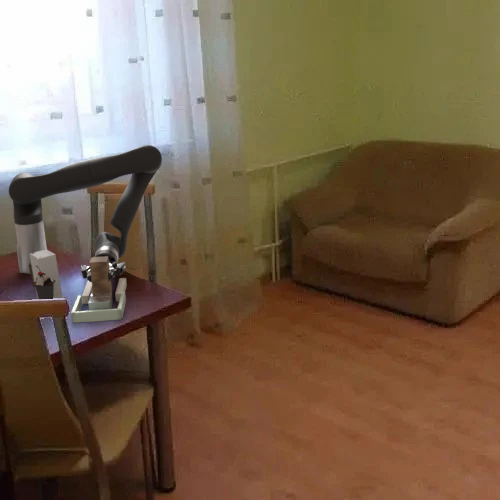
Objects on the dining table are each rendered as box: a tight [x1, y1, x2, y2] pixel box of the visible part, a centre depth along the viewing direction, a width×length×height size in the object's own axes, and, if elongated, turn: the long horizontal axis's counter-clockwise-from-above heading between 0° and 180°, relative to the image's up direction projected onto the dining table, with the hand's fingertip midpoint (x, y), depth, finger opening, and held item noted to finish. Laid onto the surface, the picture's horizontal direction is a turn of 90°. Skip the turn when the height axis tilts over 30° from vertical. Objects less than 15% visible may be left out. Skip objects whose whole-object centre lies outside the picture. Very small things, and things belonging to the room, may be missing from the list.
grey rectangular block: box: [87, 296, 113, 311], centre depth 222 cm, size 6×4×4 cm, turn 94°
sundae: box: [31, 266, 56, 300], centre depth 220 cm, size 7×7×15 cm
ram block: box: [89, 256, 113, 293], centre depth 228 cm, size 5×5×12 cm
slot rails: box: [81, 277, 128, 305], centre depth 236 cm, size 12×14×2 cm
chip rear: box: [90, 291, 114, 306], centre depth 226 cm, size 6×4×4 cm, turn 94°
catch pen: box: [70, 291, 127, 324], centre depth 222 cm, size 14×14×3 cm
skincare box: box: [30, 249, 64, 300], centre depth 232 cm, size 8×6×15 cm
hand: (99, 278), depth 226 cm, fingers closed on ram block, 5 cm apart
